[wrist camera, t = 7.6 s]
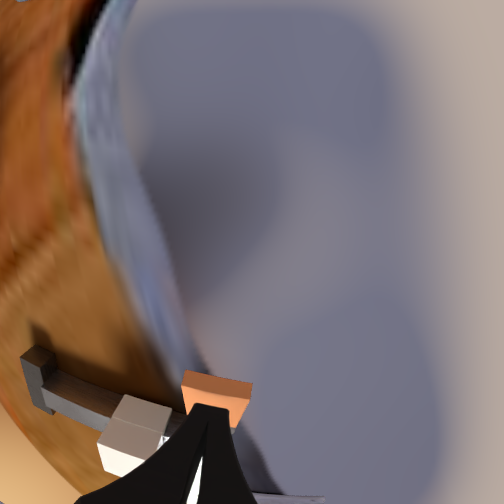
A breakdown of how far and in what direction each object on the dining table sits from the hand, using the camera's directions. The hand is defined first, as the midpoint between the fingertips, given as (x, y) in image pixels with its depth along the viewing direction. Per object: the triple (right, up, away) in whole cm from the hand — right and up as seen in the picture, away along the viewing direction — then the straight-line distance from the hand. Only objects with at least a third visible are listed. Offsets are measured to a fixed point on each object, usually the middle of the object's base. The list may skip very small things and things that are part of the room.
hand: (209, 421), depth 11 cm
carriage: (-7, -7, +11) cm, 14 cm away
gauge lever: (0, -1, +5) cm, 5 cm away
